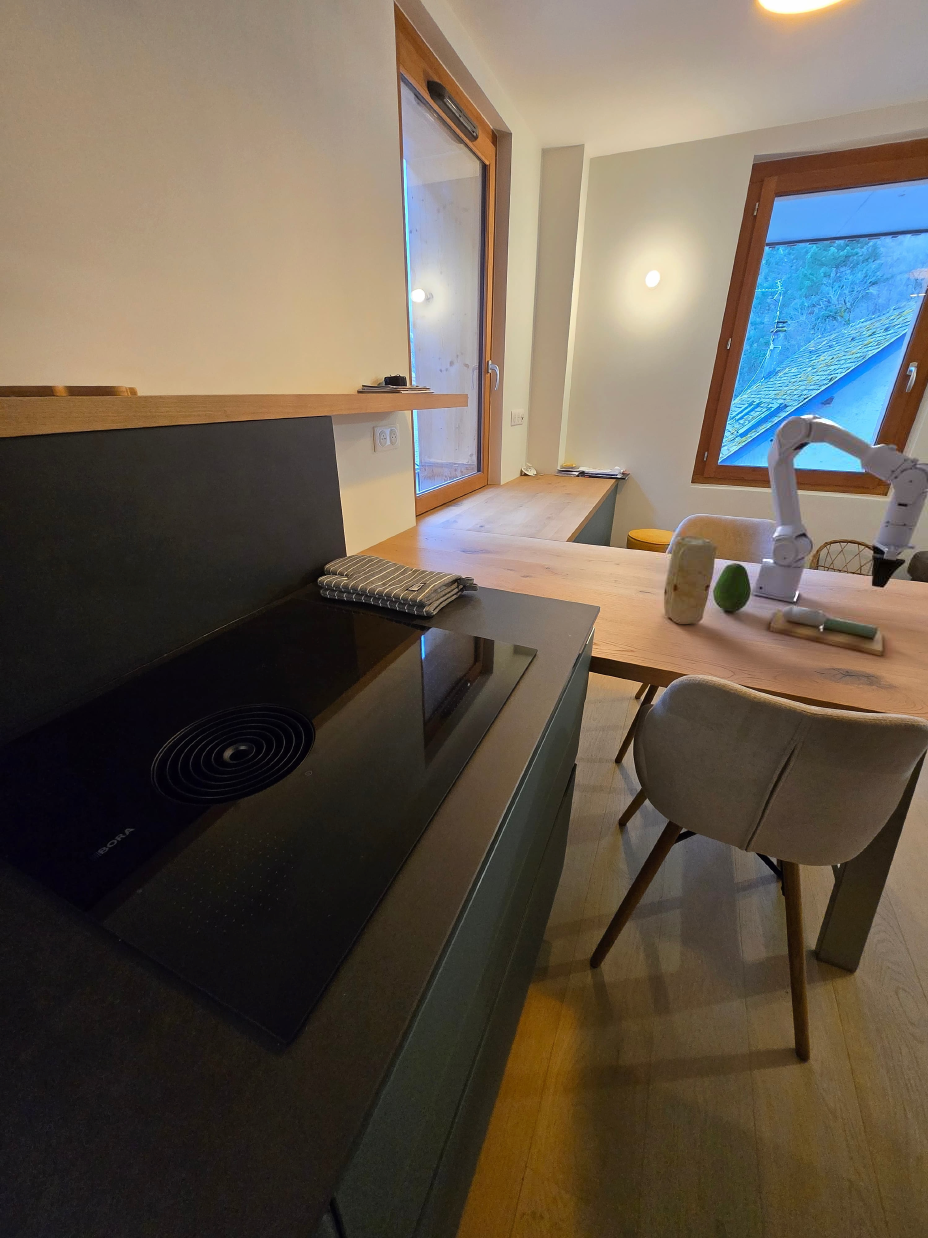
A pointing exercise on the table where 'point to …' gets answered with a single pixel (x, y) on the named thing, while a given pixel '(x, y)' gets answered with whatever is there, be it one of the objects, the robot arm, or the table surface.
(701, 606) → the food model
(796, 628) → the board
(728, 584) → the avocado
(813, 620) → the green-handled cylinder
